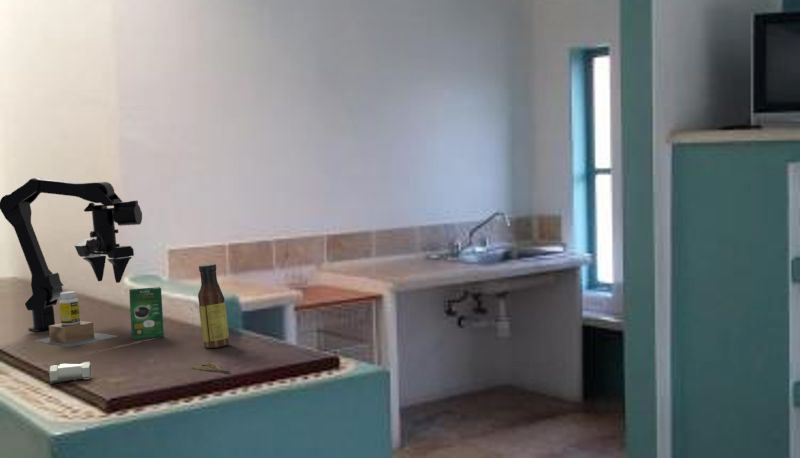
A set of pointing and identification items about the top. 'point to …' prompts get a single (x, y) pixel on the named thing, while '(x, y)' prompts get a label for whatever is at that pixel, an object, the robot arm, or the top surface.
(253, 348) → the top surface
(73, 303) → the supplement bottle
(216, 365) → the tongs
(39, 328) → the robot arm
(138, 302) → the coffee box
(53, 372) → the pipe fitting
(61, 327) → the base block
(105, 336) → the build mat
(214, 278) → the sauce bottle
